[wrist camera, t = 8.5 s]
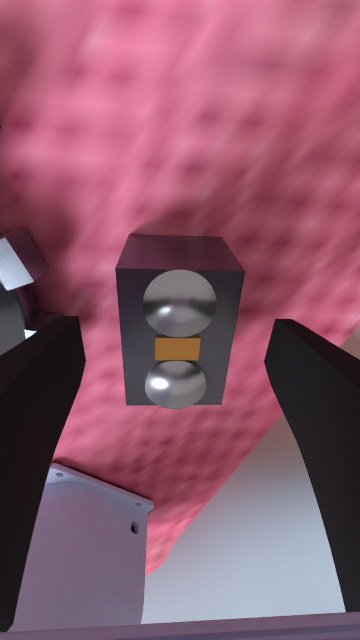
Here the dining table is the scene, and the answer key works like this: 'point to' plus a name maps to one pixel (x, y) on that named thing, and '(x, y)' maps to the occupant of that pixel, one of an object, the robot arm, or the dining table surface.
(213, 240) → the gray speaker cabinet
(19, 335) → the sprocket
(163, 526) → the dining table surface
